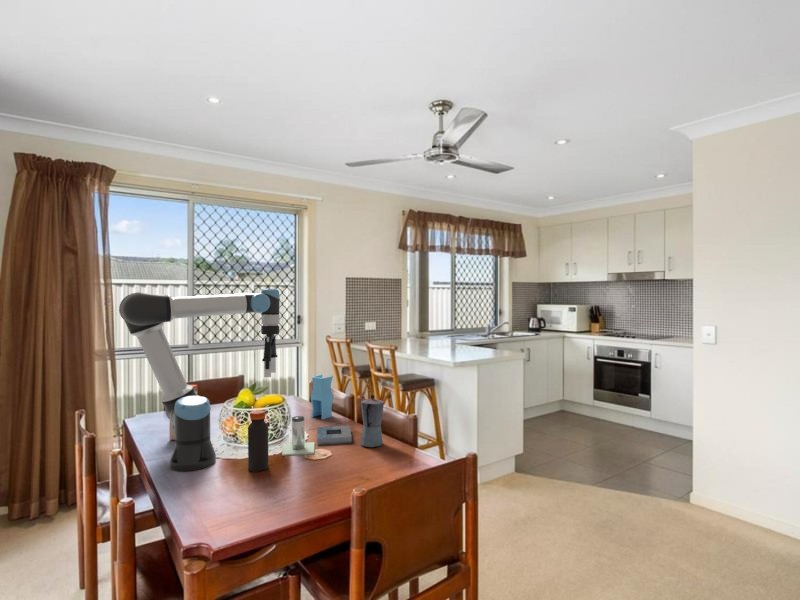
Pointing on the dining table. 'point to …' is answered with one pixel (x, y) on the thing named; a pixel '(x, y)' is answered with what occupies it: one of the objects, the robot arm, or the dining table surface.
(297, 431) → the silver canister
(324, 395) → the blue notched block
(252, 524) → the dining table surface
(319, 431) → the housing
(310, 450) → the mat
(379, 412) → the moka pot
